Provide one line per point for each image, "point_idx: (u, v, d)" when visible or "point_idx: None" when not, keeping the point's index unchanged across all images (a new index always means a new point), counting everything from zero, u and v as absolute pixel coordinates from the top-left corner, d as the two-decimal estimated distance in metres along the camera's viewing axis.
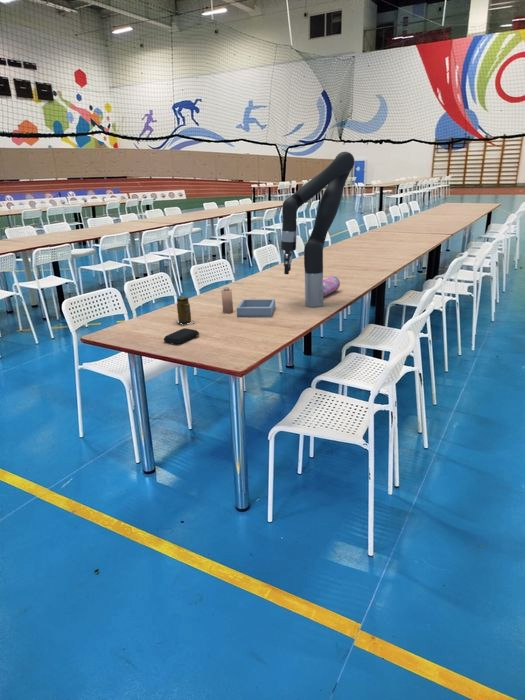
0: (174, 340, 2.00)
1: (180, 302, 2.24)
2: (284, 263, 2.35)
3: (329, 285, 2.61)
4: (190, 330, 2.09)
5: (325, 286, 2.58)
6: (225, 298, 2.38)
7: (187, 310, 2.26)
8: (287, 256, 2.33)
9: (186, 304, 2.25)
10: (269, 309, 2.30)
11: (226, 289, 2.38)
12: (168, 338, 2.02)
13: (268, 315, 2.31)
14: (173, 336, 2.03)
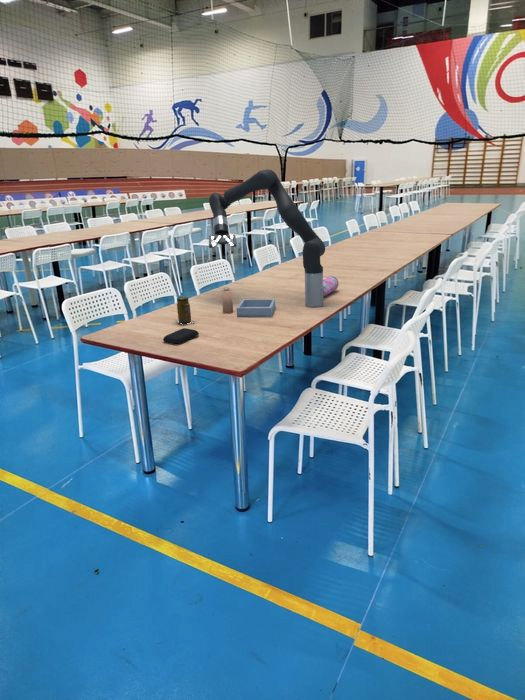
0: (173, 340, 2.00)
1: (180, 302, 2.24)
2: None
3: (329, 285, 2.62)
4: (190, 330, 2.09)
5: (325, 286, 2.58)
6: (225, 298, 2.38)
7: (187, 310, 2.26)
8: None
9: (186, 304, 2.25)
10: (269, 309, 2.30)
11: (226, 289, 2.38)
12: (167, 338, 2.02)
13: (268, 315, 2.31)
14: (173, 336, 2.03)
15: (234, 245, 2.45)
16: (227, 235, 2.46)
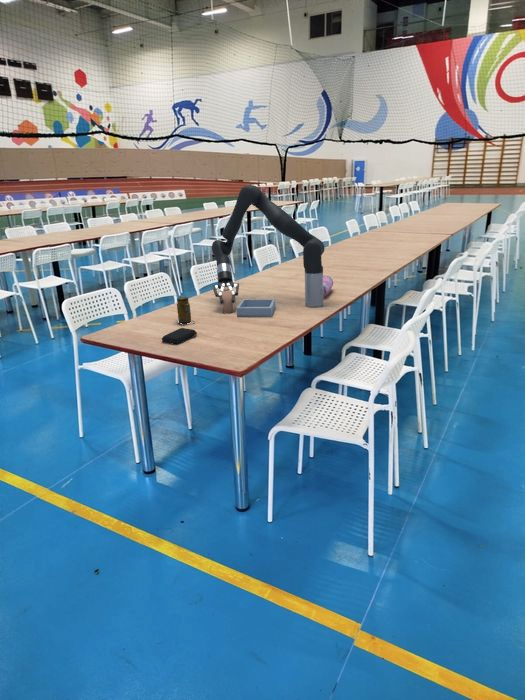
0: (173, 340, 2.01)
1: (180, 302, 2.24)
2: None
3: (328, 285, 2.63)
4: (188, 330, 2.10)
5: (326, 286, 2.59)
6: (225, 298, 2.38)
7: (187, 310, 2.26)
8: None
9: (186, 304, 2.25)
10: (269, 309, 2.30)
11: (226, 289, 2.38)
12: (166, 338, 2.03)
13: (268, 315, 2.31)
14: (172, 336, 2.03)
15: (235, 294, 2.41)
16: (231, 282, 2.43)
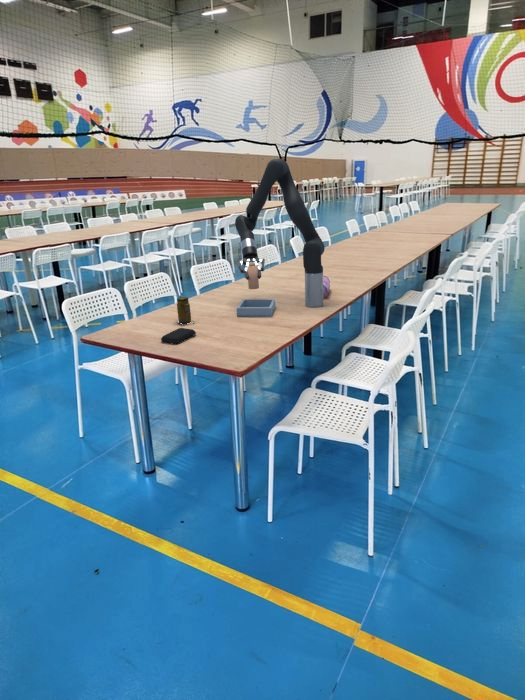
0: (172, 340, 2.01)
1: (180, 302, 2.24)
2: (240, 270, 2.34)
3: (327, 284, 2.63)
4: (187, 329, 2.10)
5: (326, 285, 2.59)
6: (251, 274, 2.31)
7: (187, 310, 2.26)
8: None
9: (186, 304, 2.25)
10: (269, 309, 2.30)
11: (252, 264, 2.30)
12: (166, 338, 2.03)
13: (268, 315, 2.31)
14: (171, 336, 2.03)
15: (261, 269, 2.34)
16: (256, 258, 2.36)
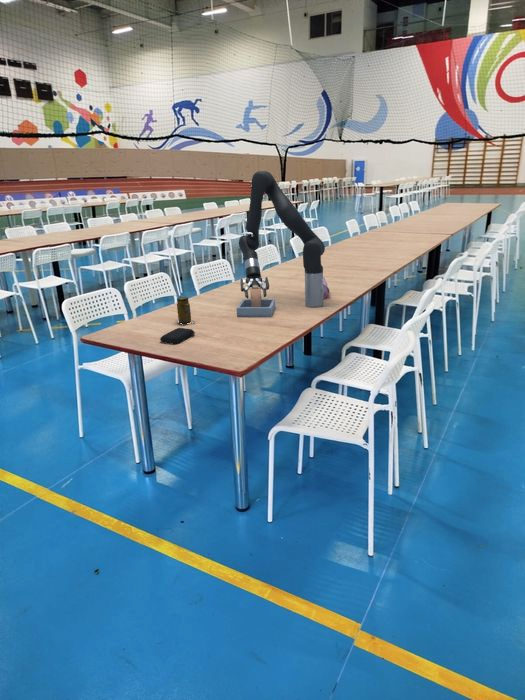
0: (172, 339, 2.01)
1: (180, 302, 2.24)
2: None
3: (326, 284, 2.64)
4: (185, 329, 2.11)
5: (326, 285, 2.60)
6: (254, 296, 2.35)
7: (187, 310, 2.26)
8: (240, 281, 2.38)
9: (186, 304, 2.25)
10: (269, 309, 2.30)
11: (255, 287, 2.34)
12: (165, 338, 2.03)
13: (268, 315, 2.31)
14: (170, 336, 2.03)
15: (267, 288, 2.38)
16: (259, 278, 2.39)
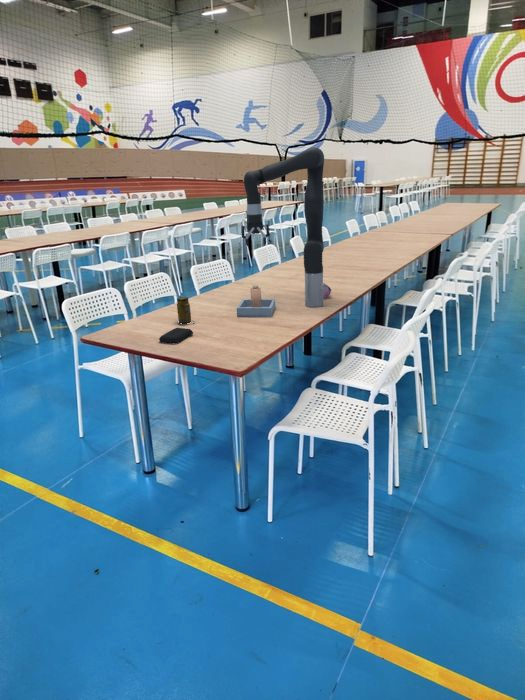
0: (171, 339, 2.01)
1: (180, 302, 2.24)
2: None
3: None
4: (184, 329, 2.11)
5: None
6: (254, 296, 2.35)
7: (187, 310, 2.26)
8: None
9: (186, 304, 2.25)
10: (269, 309, 2.30)
11: (255, 287, 2.34)
12: (164, 338, 2.03)
13: (268, 315, 2.31)
14: (169, 335, 2.04)
15: (267, 236, 2.45)
16: (260, 225, 2.42)
